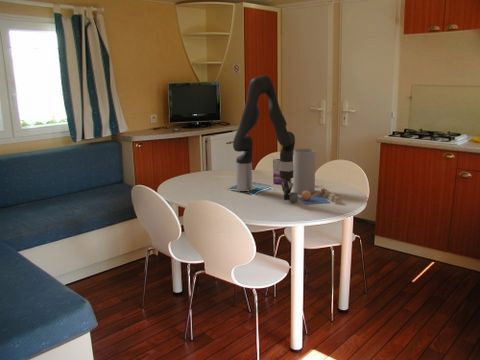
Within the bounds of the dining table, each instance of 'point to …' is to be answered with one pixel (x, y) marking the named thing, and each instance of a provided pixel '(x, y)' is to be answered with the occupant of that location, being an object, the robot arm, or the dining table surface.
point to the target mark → (314, 200)
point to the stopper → (330, 196)
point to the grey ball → (293, 197)
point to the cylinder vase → (304, 171)
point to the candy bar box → (276, 171)
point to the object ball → (306, 195)
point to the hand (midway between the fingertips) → (286, 199)
